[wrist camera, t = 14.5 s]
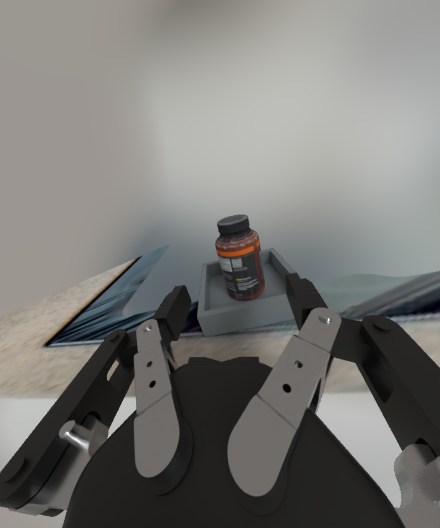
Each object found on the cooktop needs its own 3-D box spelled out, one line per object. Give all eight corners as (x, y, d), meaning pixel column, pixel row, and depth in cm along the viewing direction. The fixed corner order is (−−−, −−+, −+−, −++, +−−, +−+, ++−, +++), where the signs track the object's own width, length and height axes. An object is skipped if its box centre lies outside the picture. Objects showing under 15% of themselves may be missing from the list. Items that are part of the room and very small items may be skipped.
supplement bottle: (253, 274, 28) (243, 210, 23) (273, 292, 23) (266, 214, 18) (222, 286, 27) (204, 221, 22) (236, 308, 22) (218, 230, 17)
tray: (274, 264, 31) (273, 247, 30) (314, 315, 19) (315, 293, 18) (207, 279, 32) (202, 264, 30) (205, 337, 20) (197, 317, 18)
